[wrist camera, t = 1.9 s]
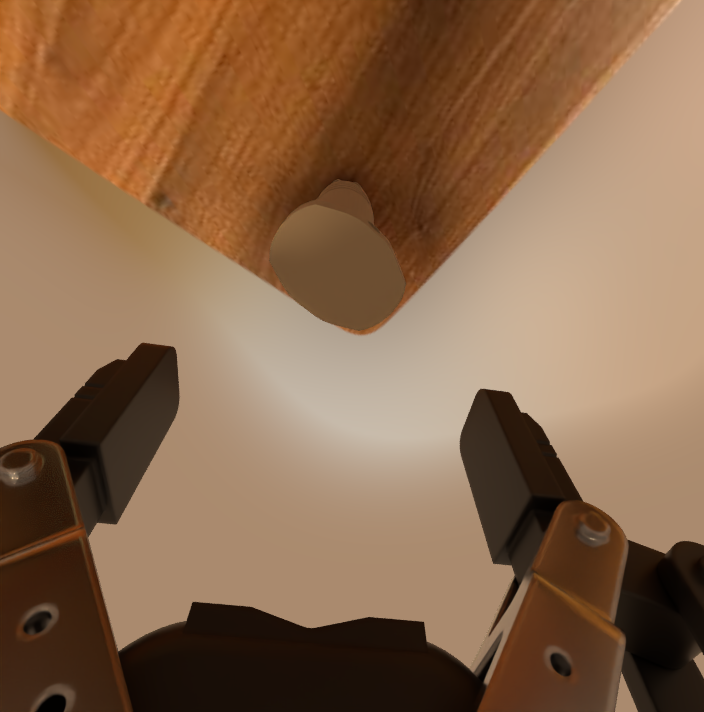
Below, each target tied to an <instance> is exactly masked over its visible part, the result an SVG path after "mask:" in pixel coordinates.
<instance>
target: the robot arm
mask: <svg viewBox="0 0 704 712" xmlns="http://www.w3.org/2000/svg"><path fill="white" fill-rule="evenodd" d="M178 383H179V381H178V367H177V354H176V350H175V348H174V347H171V346H164V345H156V344H149V343H141V344H140V345H139V346H138V347H137V348H136V350H135V351H134V352H133V353H132V354H131V355H130V356H129V358H128V359H127V360H119V359H117V360H115V361H113V362H111V363H109V364H107V365H106V366H104V367H102V368H100V369H98V370H97V371H96V372H95V373H94V374H93V375H92V377H90V379H89V380H88V381H87V382H86V383H85V386H82V387H81V388H80V389H79V390H78V392H77V393H76V394H75V397H74V398H71V399H70V400H69V401H68V402H67V404H66V405H65V406H64V407H63V408H62V409H61V410H60V411H59V412H58V413H57V414H56V415H55V417H54V418H53V419H52V420H51V421H50V422H49V423H48V424H47V425H46V426H45V428H43V430H42V431H41V432H40V433H39V434H38V435H37V436H36V437H35V438H34V439H33V440H25V441H20V442H16V443H12V444H10V445H7V446H4V447H2V448H0V712H615V707H616V701H617V694H618V689H619V682H620V676H621V672H622V674H623V676H624V679H625V681H626V684H627V686H628V688H629V691H630V693H631V696H632V698H633V700H634V703H635V705H636V708H637V710H638V712H704V678H703V676H702V675H701V672H700V671H699V669H698V667H697V665H696V663H695V662H694V660H693V658H695V657H696V656H697V655H698V654H699V653H701V652H703V655H704V545H701V544H698V543H694V542H689V541H682V542H678V543H676V544H675V545H674V546H673V547H672V548H671V549H670V550H669V551H668V552H667V553H666V554H664V553H662V552H659V551H656V550H654V549H651V548H648V547H646V546H643V545H640V544H638V543H635V542H632V541H630V540H627V538H626V536H625V534H624V532H623V530H622V529H621V528H620V526H619V525H618V524H617V523H616V522H615V521H614V520H613V519H612V518H611V517H610V516H609V515H607V514H606V513H605V512H603V511H602V510H600V509H599V508H597V507H595V506H593V505H591V504H588V503H585V502H583V500H582V498H581V497H580V495H579V493H578V491H577V490H576V488H575V486H574V484H573V482H572V481H571V479H570V477H569V475H568V474H567V472H566V470H565V468H564V466H563V465H562V463H561V461H560V459H559V458H557V457H556V456H557V454H556V452H555V450H554V449H553V447H552V445H550V442H549V440H548V438H547V436H546V434H545V433H544V431H543V429H542V428H541V426H540V425H539V424H538V423H537V422H535V421H534V420H533V419H532V418H531V417H530V416H529V415H528V414H527V413H521V412H520V410H519V408H518V406H517V404H516V402H515V400H514V399H513V396H512V395H511V394H510V393H509V392H503V391H495V390H488V389H480V390H479V391H478V392H477V394H476V396H475V399H474V401H473V404H472V406H471V409H470V412H469V414H468V417H467V419H466V422H465V425H464V427H463V430H462V432H461V438H460V453H461V457H462V460H463V463H464V467H465V470H466V474H467V477H468V480H469V483H470V487H471V490H472V494H473V497H474V501H475V504H476V507H477V511H478V514H479V517H480V521H481V524H482V528H483V531H484V534H485V537H486V541H487V544H488V548H489V551H490V554H491V558H492V561H493V564H503V565H512V568H513V571H514V574H515V576H514V577H513V579H512V580H511V582H510V584H509V586H508V589H507V591H506V593H505V595H504V597H503V599H502V602H501V604H500V606H499V608H498V610H497V613H496V615H495V617H494V619H493V621H492V623H491V626H490V628H489V630H488V632H487V634H486V637H485V639H484V641H483V643H482V645H481V647H480V649H479V651H478V653H477V655H476V657H475V659H474V661H473V662H472V664H471V666H470V668H467V667H466V666H465V665H464V664H463V663H462V662H461V661H459V660H458V659H457V658H455V657H454V656H452V655H451V654H449V653H448V652H446V651H445V650H443V649H441V648H439V647H437V646H435V645H434V644H431V643H429V642H427V641H426V634H425V627H424V622H419V621H407V620H396V619H385V618H384V619H383V618H373V617H368V618H362V619H357V620H352V621H347V622H343V623H337V624H332V625H327V626H323V627H317V628H306V627H303V626H300V625H297V624H295V623H292V622H290V621H287V620H284V619H282V618H279V617H276V616H274V615H271V614H269V613H266V612H263V611H261V610H258V609H255V608H253V607H246V606H234V605H223V604H212V603H211V604H210V603H199V602H193V603H192V606H191V609H190V612H189V615H188V618H187V621H184V622H179V623H175V624H172V625H169V626H166V627H162V628H160V629H158V630H155V631H153V632H151V633H148V634H146V635H144V636H143V637H141V638H139V639H137V640H136V641H134V642H132V643H130V644H129V645H127V646H126V647H124V648H123V649H122V650H120V651H119V652H118V648H117V645H116V641H115V637H114V633H113V630H112V626H111V622H110V618H109V615H108V611H107V607H106V603H105V600H104V596H103V592H102V588H101V585H100V581H99V577H98V573H97V570H96V566H95V562H94V558H93V554H92V551H91V547H90V543H89V540H88V537H89V535H90V534H91V532H92V530H93V529H94V527H95V525H96V523H107V524H117V523H118V521H119V519H120V517H121V515H122V513H123V512H124V510H125V508H126V506H127V504H128V503H129V501H130V499H131V497H132V495H133V493H134V492H135V490H136V488H137V486H138V484H139V482H140V480H141V479H142V477H143V475H144V473H145V472H146V470H147V468H148V466H149V464H150V462H151V461H152V459H153V457H154V455H155V453H156V451H157V450H158V448H159V446H160V444H161V442H162V441H163V439H164V437H165V435H166V433H167V432H168V430H169V428H170V426H171V424H172V422H173V421H174V418H175V416H176V414H177V410H178V405H179V384H178Z"/></svg>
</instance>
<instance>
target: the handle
mask: <svg viewBox="0 0 704 712" xmlns="http://www.w3.org/2000/svg"><path fill="white" fill-rule="evenodd" d="M269 261H270V263H271V265H272V267H273V269H274V271H275V273H276V274H277V276H278V278H279V280H280V282H281V283H282V285H283V287H284V288H285V290H286V291H287V292H288V294H289V295H290V296H291V297H292V298H293V299H294V300H295V301H296V302H297V303H299V304H300V305H301V306H303V307H304V308H305V309H307V310H308V311H309V312H310V313H312V314H313V315H315V316H316V317H318V318H320V319H321V320H323V321H325V322H328V323H330V324H334V325H337V326H341V327H345V328H349V329H354V330H358V331H360V330H364V329H368V328H370V327H373V326H375V325H377V324H378V323H380V322H382V321H383V320H384V319H385V318H387V317H388V316H389V315H390V314H391V313H392V312H393V311H394V309H395V308H396V307H397V306H398V304H399V302H400V301H401V299H402V297H403V294H404V291H405V286H406V282H405V279H404V276H403V273H402V270H401V267H400V265H399V262H398V260H397V257H396V255H395V252H394V250H393V248H392V246H391V244H390V242H389V240H388V239H387V238H386V237H385V235H384V234H383V233H382V232H381V231H380V230H379V229H378V228H377V227H376V226H375V225H374V215H373V210H372V206H371V203H370V201H369V199H368V196H367V195H366V193H365V192H364V191H363V188H362V187H361V185H360V184H358V183H357V182H350V181H341V180H340V179H337V180H334V181H333V182H332V184H330V185H329V186H327V187H326V188H325V189H324V190H323V191H322V192H321V194H320V195H319V197H318V198H317V199H316V200H313V201H309V202H307V203H305V204H302V205H300V206H299V207H298V208H296V209H295V210H294V211H292V212H291V213H290V214H289V216H288V217H287V218H286V219H285V220H284V221H283V223H282V224H281V226H280V227H279V229H278V231H277V232H276V234H275V236H274V239H273V241H272V243H271V248H270V256H269Z"/></svg>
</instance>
